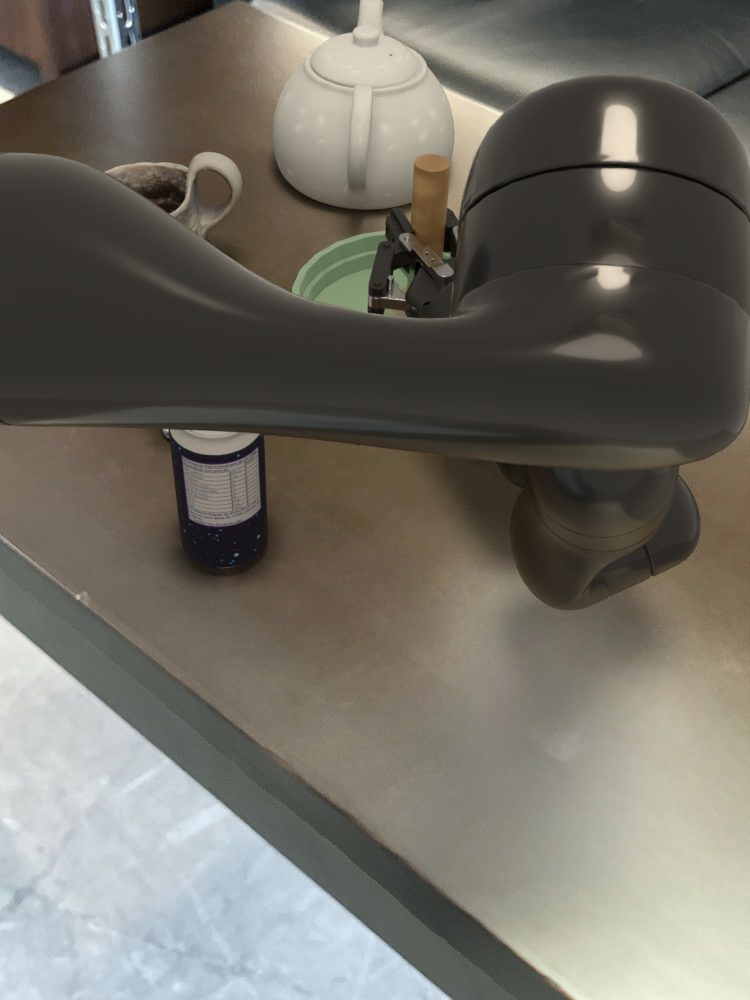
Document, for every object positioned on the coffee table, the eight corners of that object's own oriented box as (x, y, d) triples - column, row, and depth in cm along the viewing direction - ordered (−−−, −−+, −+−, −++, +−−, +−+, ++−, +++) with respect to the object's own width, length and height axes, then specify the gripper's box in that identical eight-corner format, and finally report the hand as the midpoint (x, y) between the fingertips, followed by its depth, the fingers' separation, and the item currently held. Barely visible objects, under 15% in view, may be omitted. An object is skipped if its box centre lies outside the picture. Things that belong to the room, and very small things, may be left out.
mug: (94, 234, 101) (78, 128, 94) (236, 223, 103) (231, 119, 96) (100, 299, 94) (83, 190, 87) (251, 285, 97) (247, 179, 90)
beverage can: (284, 535, 77) (281, 400, 69) (235, 590, 74) (226, 455, 65) (215, 502, 79) (204, 366, 70) (164, 554, 76) (146, 418, 67)
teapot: (225, 162, 110) (217, 21, 101) (367, 106, 119) (373, -28, 110) (354, 248, 101) (359, 102, 91) (497, 180, 110) (516, 41, 100)
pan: (291, 410, 86) (291, 374, 83) (292, 263, 99) (292, 228, 97) (545, 411, 87) (552, 375, 85) (512, 265, 100) (517, 230, 98)
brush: (387, 357, 90) (395, 181, 79) (383, 316, 94) (390, 143, 83) (458, 357, 90) (475, 181, 80) (452, 316, 94) (467, 144, 84)
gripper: (603, 293, 75) (504, 160, 87) (401, 325, 72) (326, 183, 83) (583, 381, 81) (493, 245, 92) (394, 414, 77) (325, 269, 89)
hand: (414, 216), depth 87 cm, fingers closed on brush, 2 cm apart
